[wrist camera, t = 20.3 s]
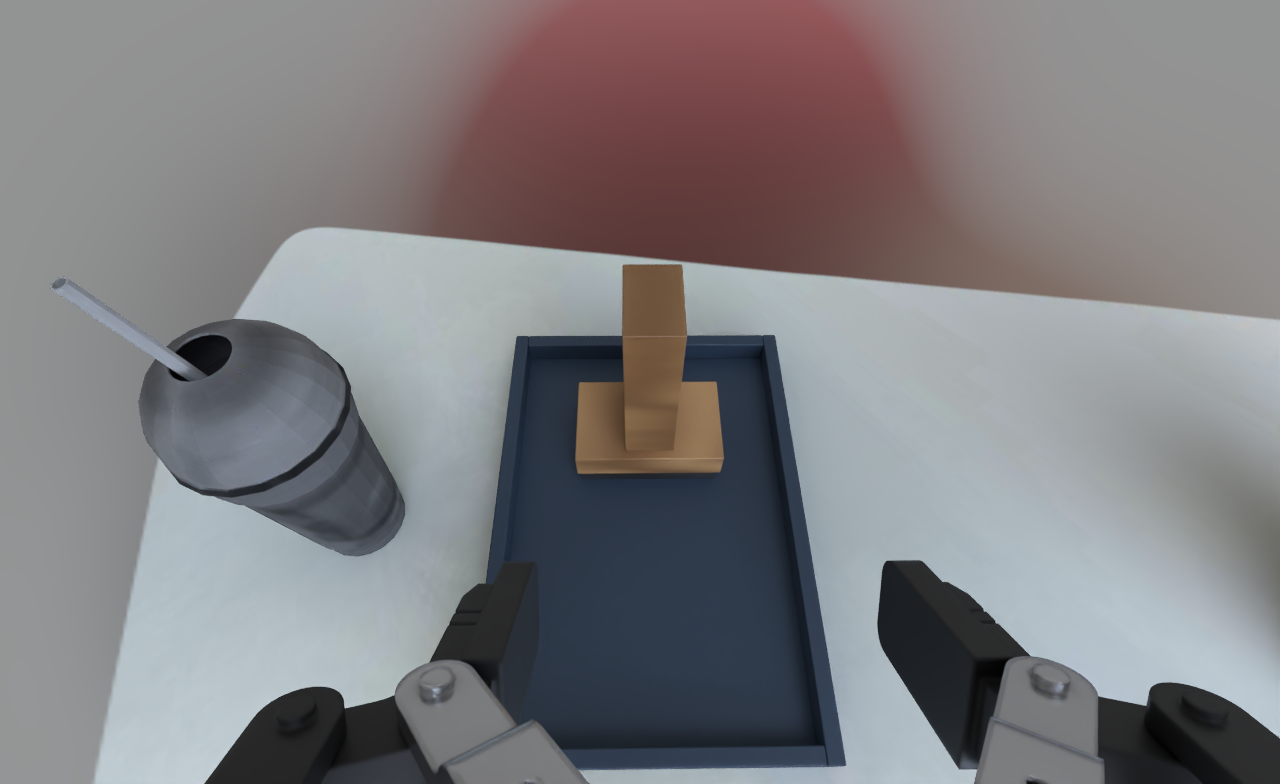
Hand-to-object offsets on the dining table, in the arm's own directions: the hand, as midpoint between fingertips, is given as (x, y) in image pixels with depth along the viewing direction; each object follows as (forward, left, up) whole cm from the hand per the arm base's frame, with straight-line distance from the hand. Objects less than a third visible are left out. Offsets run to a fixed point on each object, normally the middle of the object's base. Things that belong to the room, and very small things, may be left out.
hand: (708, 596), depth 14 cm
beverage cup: (+17, -9, -19) cm, 27 cm away
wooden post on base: (+1, -13, -18) cm, 22 cm away
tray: (+1, -9, -19) cm, 21 cm away
